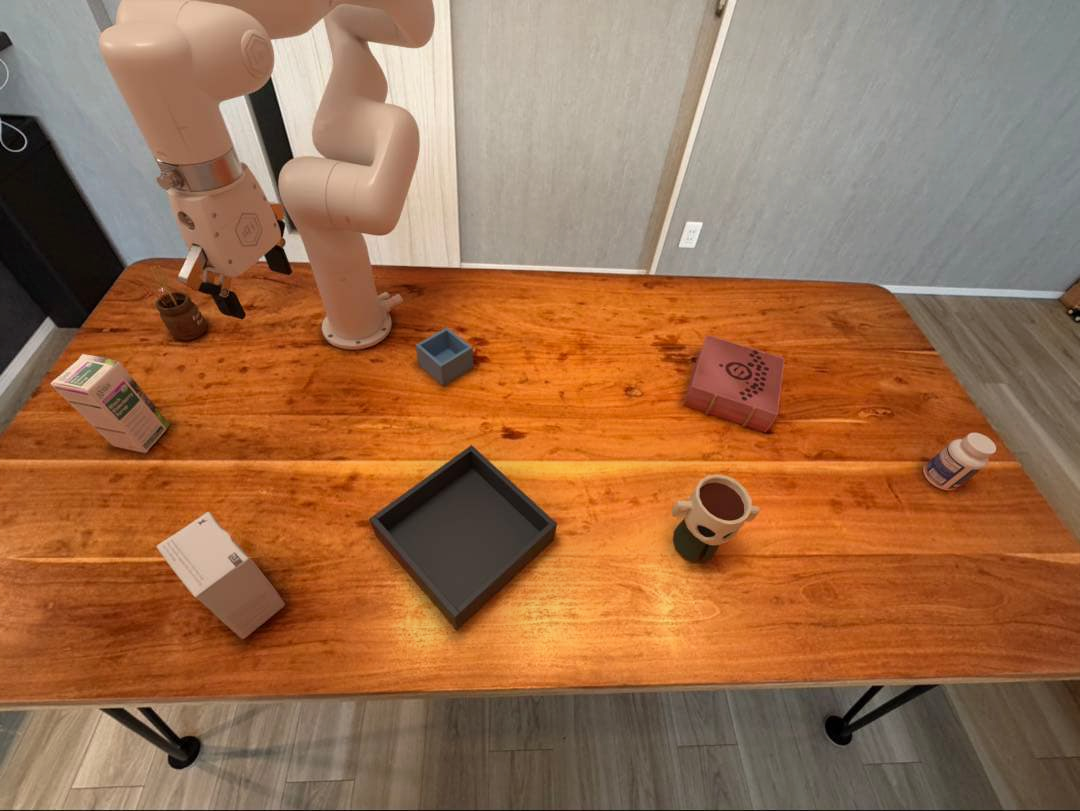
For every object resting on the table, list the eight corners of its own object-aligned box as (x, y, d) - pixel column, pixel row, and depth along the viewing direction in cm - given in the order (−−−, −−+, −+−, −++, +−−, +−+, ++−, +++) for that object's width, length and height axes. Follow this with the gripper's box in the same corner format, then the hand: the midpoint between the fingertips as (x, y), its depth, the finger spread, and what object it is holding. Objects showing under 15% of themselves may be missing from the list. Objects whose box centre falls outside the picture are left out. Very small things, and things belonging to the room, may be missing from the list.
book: (682, 408, 91) (690, 389, 87) (698, 353, 100) (706, 334, 96) (764, 436, 88) (777, 418, 84) (773, 377, 97) (784, 358, 93)
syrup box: (146, 454, 77) (88, 390, 66) (110, 446, 78) (47, 381, 67) (171, 425, 81) (120, 360, 70) (137, 418, 81) (81, 352, 70)
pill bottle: (953, 469, 86) (997, 434, 79) (959, 496, 83) (1005, 462, 75) (919, 459, 87) (959, 424, 79) (924, 485, 83) (966, 450, 76)
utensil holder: (175, 346, 92) (140, 291, 83) (169, 325, 95) (134, 270, 86) (211, 335, 94) (181, 280, 85) (204, 315, 97) (174, 261, 88)
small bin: (449, 347, 96) (447, 327, 93) (473, 367, 93) (472, 347, 90) (418, 365, 93) (415, 344, 89) (443, 386, 90) (440, 366, 86)
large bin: (472, 463, 80) (471, 444, 76) (554, 540, 73) (557, 523, 69) (375, 535, 71) (368, 518, 68) (457, 631, 64) (454, 617, 60)
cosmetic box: (209, 596, 65) (149, 545, 53) (254, 562, 68) (206, 507, 57) (245, 643, 62) (190, 599, 50) (291, 605, 65) (248, 555, 53)
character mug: (658, 565, 72) (684, 521, 62) (653, 518, 76) (676, 470, 66) (735, 570, 72) (774, 527, 62) (725, 523, 76) (760, 476, 67)
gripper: (170, 213, 49) (240, 342, 63) (282, 139, 60) (321, 263, 73) (106, 196, 50) (188, 326, 64) (226, 126, 61) (275, 250, 74)
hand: (259, 292), depth 68 cm, fingers open, 9 cm apart
